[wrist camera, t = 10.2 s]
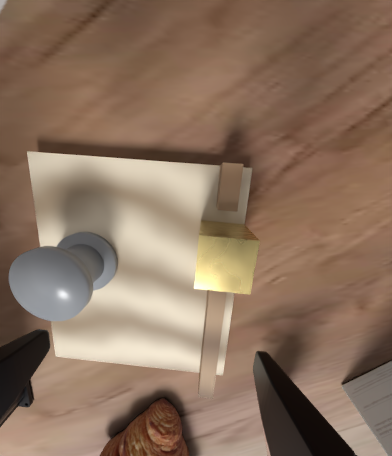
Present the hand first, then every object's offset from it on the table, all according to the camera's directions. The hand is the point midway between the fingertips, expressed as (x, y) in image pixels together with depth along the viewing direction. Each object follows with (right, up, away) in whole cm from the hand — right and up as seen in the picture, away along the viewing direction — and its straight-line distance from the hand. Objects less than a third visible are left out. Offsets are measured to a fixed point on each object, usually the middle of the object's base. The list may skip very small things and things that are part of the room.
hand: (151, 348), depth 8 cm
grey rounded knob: (-9, +2, +11) cm, 14 cm away
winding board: (-4, 0, +12) cm, 13 cm away
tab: (+4, +4, +10) cm, 11 cm away
